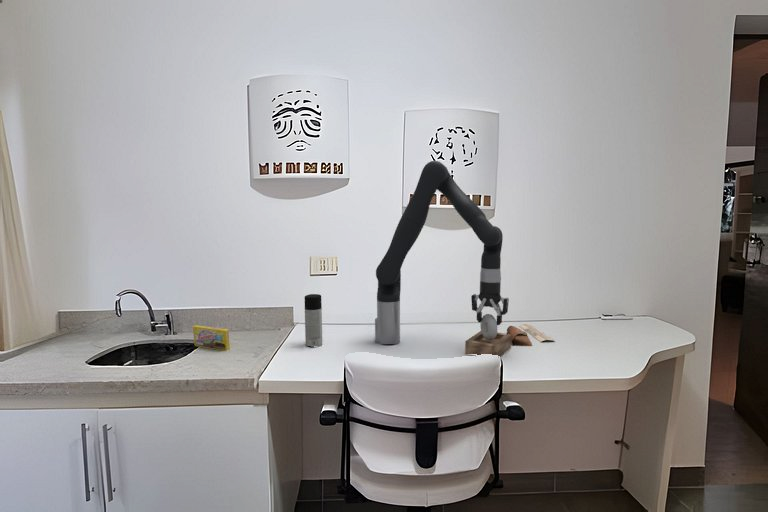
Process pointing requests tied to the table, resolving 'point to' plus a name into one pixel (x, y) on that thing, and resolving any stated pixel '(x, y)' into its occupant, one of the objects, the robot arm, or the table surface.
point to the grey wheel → (488, 327)
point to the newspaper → (535, 332)
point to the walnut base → (488, 344)
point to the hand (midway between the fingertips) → (489, 323)
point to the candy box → (211, 337)
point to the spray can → (313, 320)
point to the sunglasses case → (518, 337)
